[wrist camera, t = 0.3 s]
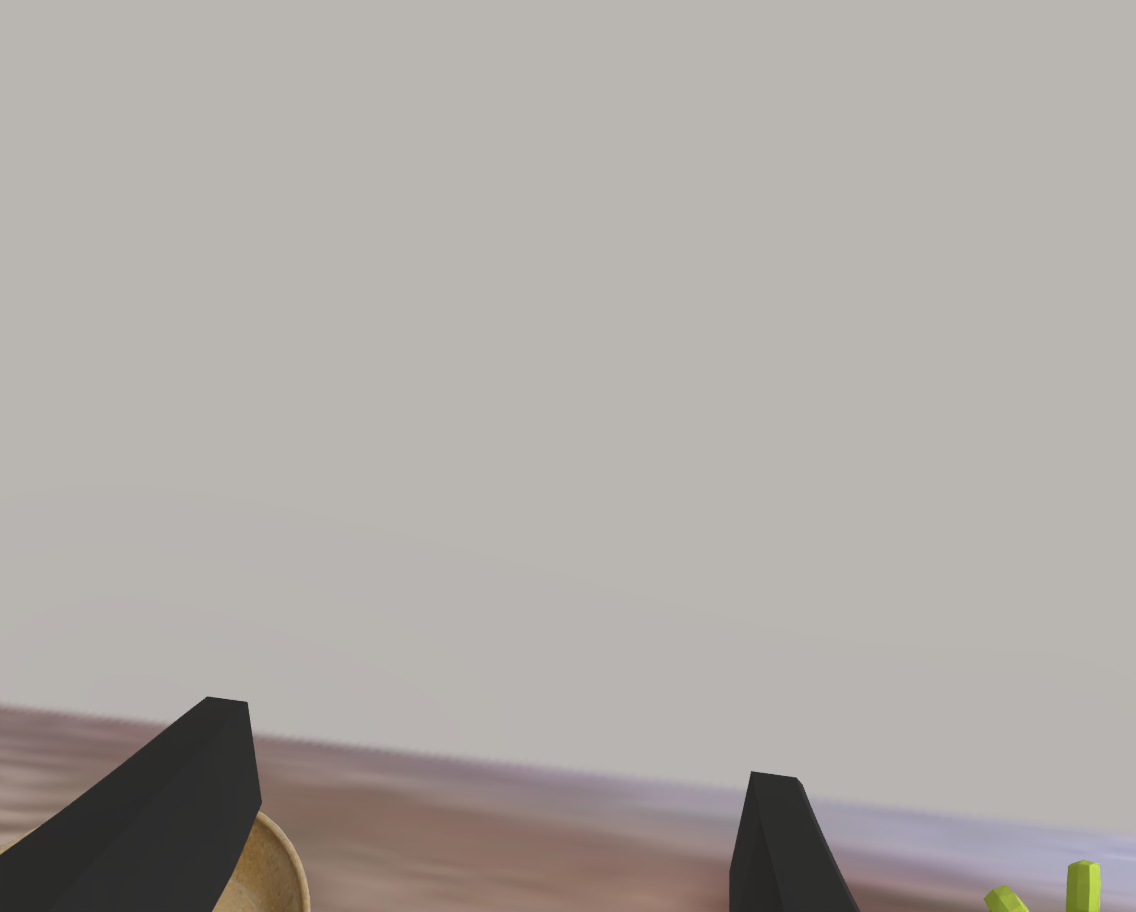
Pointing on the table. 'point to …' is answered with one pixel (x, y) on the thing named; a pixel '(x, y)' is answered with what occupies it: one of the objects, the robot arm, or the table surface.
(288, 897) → the plant saucer
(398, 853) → the table surface
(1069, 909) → the carrot
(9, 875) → the robot arm
